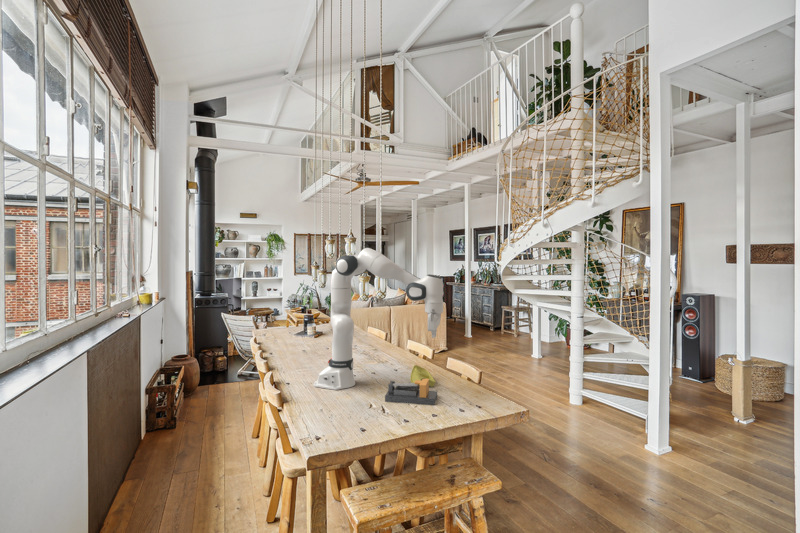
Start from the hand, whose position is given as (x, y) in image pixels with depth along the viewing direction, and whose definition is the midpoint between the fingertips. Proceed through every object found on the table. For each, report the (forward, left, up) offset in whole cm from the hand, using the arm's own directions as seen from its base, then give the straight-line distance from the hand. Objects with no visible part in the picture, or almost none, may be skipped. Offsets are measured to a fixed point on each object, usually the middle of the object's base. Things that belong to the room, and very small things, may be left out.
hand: (434, 337), depth 189 cm
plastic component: (-10, +27, -32) cm, 42 cm away
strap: (-15, 0, -25) cm, 29 cm away
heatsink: (-11, 0, -31) cm, 33 cm away
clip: (-6, 0, -28) cm, 29 cm away
